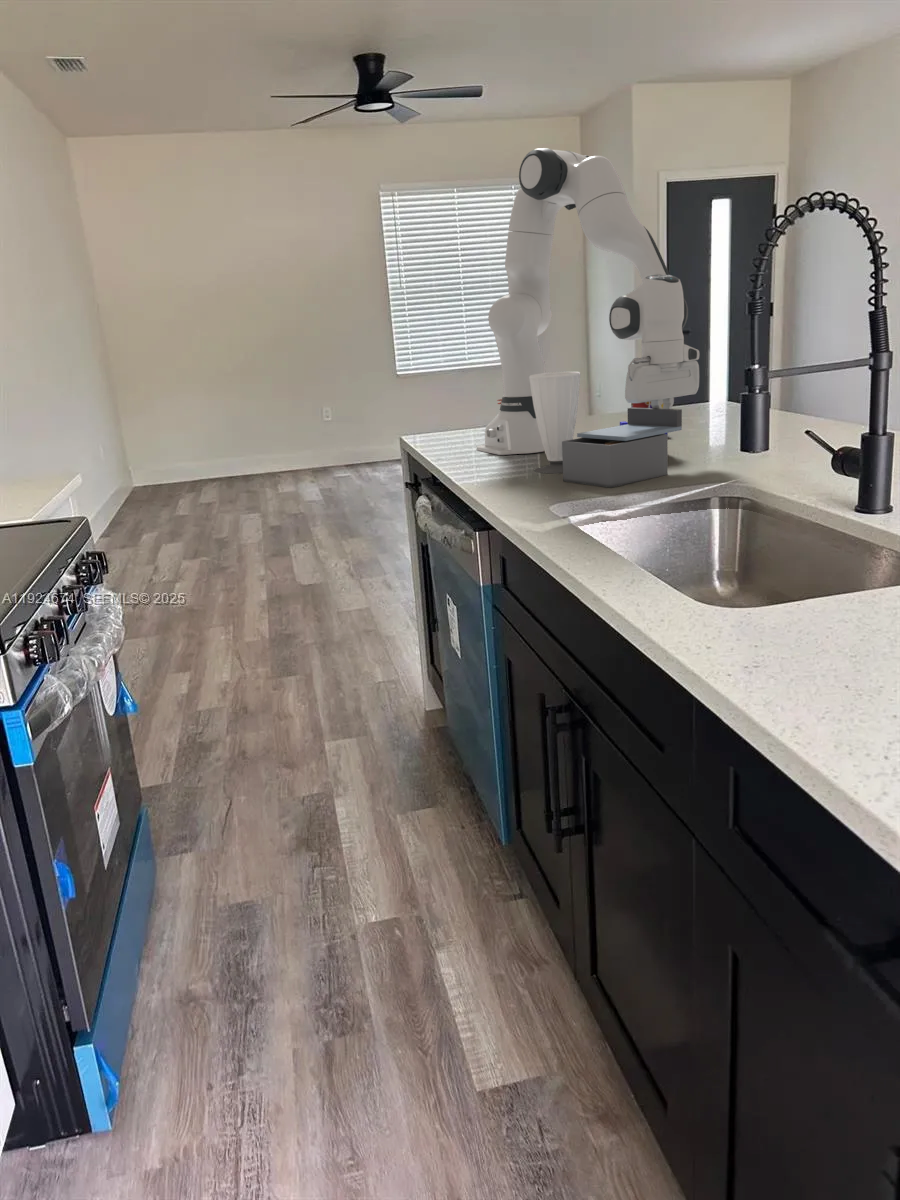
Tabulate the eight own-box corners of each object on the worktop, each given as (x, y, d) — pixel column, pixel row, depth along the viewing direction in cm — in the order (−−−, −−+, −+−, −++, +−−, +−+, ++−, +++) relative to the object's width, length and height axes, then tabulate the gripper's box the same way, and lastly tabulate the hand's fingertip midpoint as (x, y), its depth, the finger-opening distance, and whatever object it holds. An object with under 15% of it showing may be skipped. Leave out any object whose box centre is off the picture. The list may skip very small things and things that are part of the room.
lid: (577, 437, 186) (576, 416, 184) (632, 426, 195) (632, 407, 193) (625, 440, 175) (625, 419, 173) (681, 429, 184) (681, 409, 182)
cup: (533, 467, 206) (528, 374, 200) (581, 464, 205) (579, 370, 199) (533, 475, 196) (529, 377, 189) (585, 472, 194) (582, 373, 188)
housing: (563, 481, 186) (561, 441, 183) (619, 468, 195) (618, 430, 192) (610, 487, 175) (609, 445, 172) (667, 474, 184) (667, 434, 181)
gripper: (640, 358, 178) (640, 426, 182) (704, 350, 189) (703, 414, 193) (617, 359, 183) (618, 425, 187) (681, 351, 194) (681, 413, 198)
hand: (662, 419), depth 190 cm, fingers closed
